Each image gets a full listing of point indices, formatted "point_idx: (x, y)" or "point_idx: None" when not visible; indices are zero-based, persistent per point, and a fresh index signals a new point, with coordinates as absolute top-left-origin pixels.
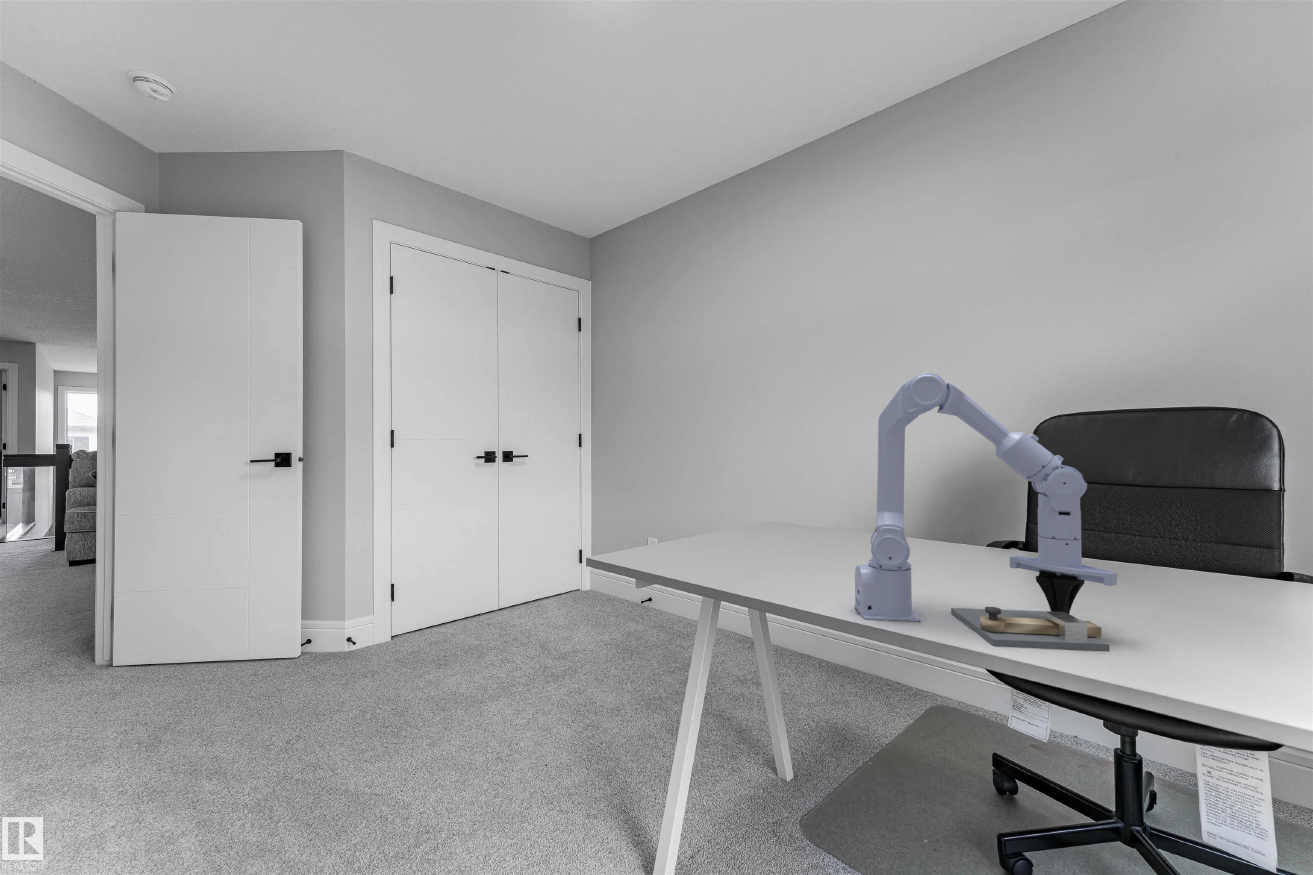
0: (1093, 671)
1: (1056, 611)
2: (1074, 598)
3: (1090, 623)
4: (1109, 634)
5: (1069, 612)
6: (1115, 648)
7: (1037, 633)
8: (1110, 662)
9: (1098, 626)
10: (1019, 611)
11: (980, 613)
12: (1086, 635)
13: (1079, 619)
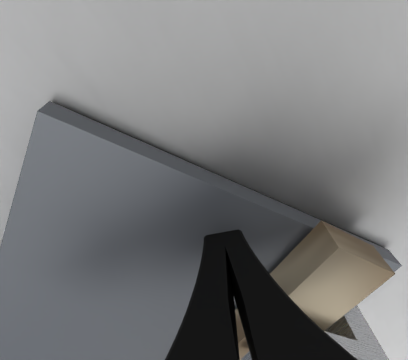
0: (389, 349)
1: (234, 306)
2: (294, 304)
3: (353, 266)
4: (327, 65)
5: (251, 249)
6: (388, 203)
7: None
8: (402, 296)
9: (384, 272)
10: (29, 233)
11: (38, 347)
12: (367, 327)
13: (362, 357)
